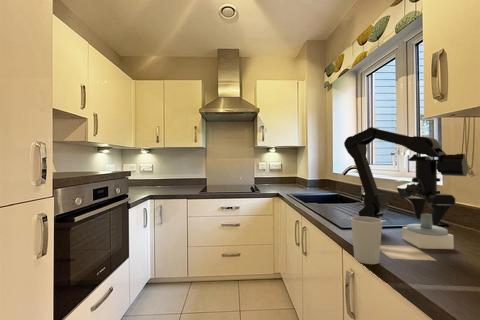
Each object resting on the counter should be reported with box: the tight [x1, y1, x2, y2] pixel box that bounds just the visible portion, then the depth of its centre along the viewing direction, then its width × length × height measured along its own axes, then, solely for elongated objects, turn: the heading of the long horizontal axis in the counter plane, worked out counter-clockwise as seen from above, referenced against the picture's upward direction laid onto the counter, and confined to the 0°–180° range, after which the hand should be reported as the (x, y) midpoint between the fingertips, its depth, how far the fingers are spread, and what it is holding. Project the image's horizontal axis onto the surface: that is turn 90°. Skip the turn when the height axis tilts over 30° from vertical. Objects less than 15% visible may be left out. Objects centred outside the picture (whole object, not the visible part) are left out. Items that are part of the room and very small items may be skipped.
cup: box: [350, 216, 384, 265], centre depth 72 cm, size 8×8×12 cm
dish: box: [402, 226, 455, 250], centre depth 85 cm, size 10×10×5 cm
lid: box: [406, 212, 449, 236], centre depth 86 cm, size 11×11×6 cm
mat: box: [380, 244, 438, 262], centre depth 78 cm, size 12×12×1 cm
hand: (426, 221), depth 86 cm, fingers open, 9 cm apart
